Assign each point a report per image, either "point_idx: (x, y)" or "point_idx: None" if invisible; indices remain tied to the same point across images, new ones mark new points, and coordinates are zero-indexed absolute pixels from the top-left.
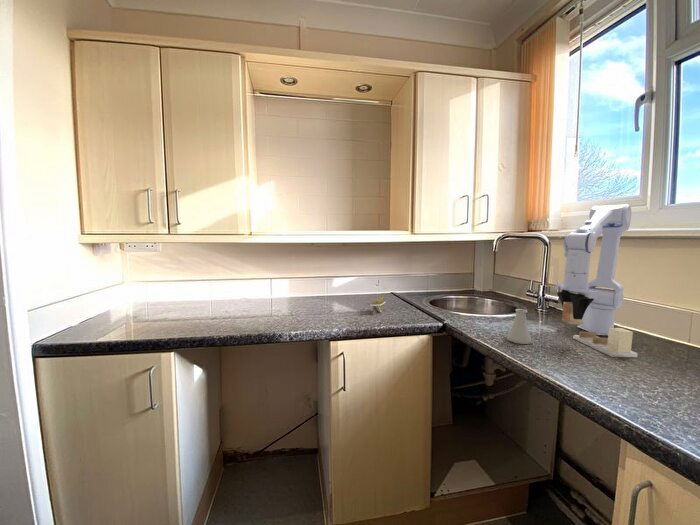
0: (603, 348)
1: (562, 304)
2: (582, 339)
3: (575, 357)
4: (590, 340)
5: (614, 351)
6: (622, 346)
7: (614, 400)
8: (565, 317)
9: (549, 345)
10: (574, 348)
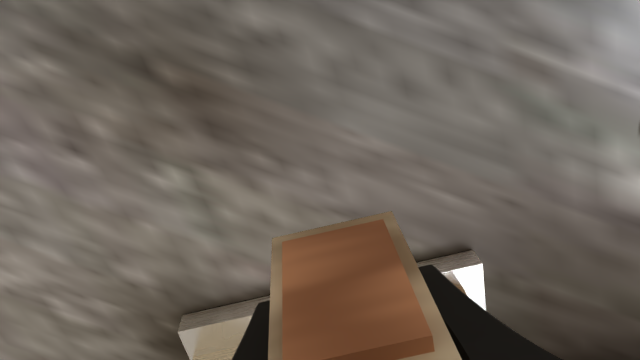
0: (242, 320)
1: (489, 330)
2: None
3: (73, 120)
4: None
5: (206, 350)
6: None
7: None
8: (330, 242)
9: (277, 35)
10: (266, 183)
